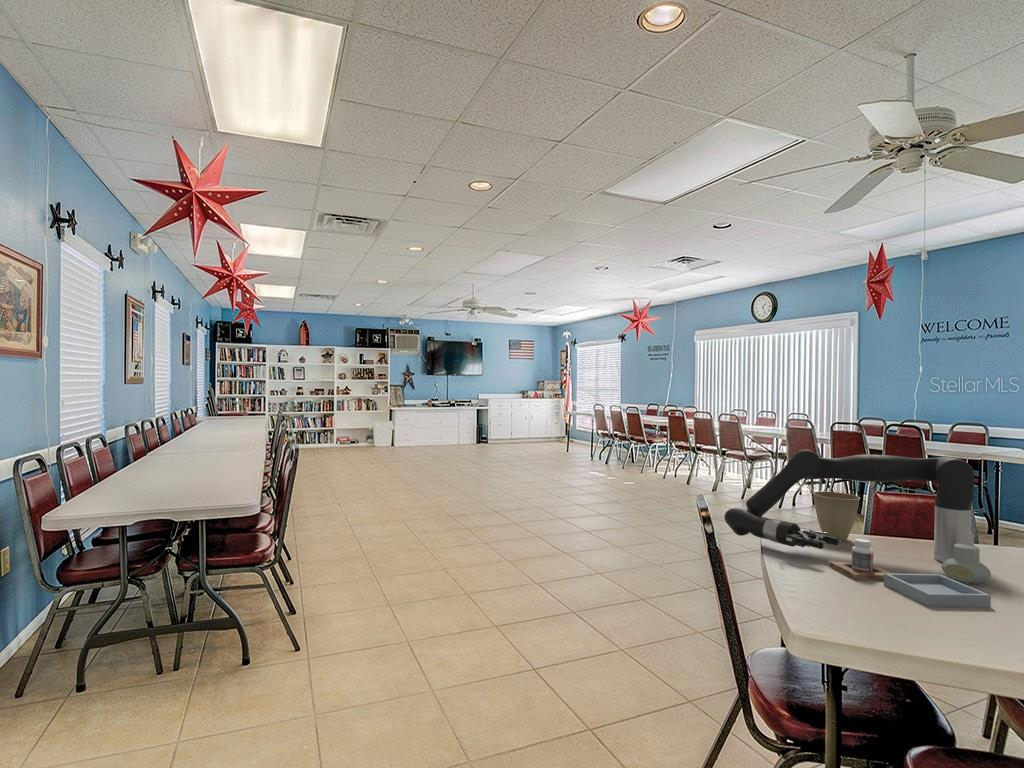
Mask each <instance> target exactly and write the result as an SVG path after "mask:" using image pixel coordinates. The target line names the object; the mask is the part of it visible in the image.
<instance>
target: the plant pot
mask: <svg viewBox="0 0 1024 768" xmlns="http://www.w3.org/2000/svg"><path fill="white" fill-rule="evenodd" d="M812 493H813V494H812V495H813V502H814V508H815V509H814V510H815V514H816V518H817V521H818V524H819V528H820V531H821V533H822V532H823V533H824V532H827V534H828V536H830V537H834V538H838V539H839V540H842V541H841V542H844V541H843V540H846V541H847V540H848V538H849V536H850V534H851V531H852V529H853V527H854V524H855V520H856V518H857V514H858V509H859V505H860V500H861V497H859V496H857V495H855V494H850V493H846V492H845V493H844V492H837V491H821V490H819V491H814V492H812Z"/></svg>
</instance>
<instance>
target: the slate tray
mask: <svg viewBox="0 0 1024 768" xmlns="http://www.w3.org/2000/svg"><path fill="white" fill-rule="evenodd" d="M884 584H885V585H884ZM883 585H884V586H887V587H888V588H890V589H892V590H894V589H895V591H896V590H897V592H898V591H899V593H900V592H901V593H900V594H902V593H903V595H904V594H905V596H906V595H907V597H908V596H909V598H911V599H913V600H914V601H917V602H918V603H921V604H922V605H925V606H927V607H930V608H931V607H935V608H936V607H937V608H938V607H940V608H941V607H942V608H944V607H945V608H946V607H948V608H949V607H950V608H992V604H991V603H992V595H991V594H988V593H986V592H984V591H981V590H979V589H976V588H974V587H972V586H969V585H967V584H966V583H961V582H958V581H956V580H954V579H952V578H950V577H949V576H945V575H943V574H937V573H936V574H935V573H892V572H890V573H884V581H883Z"/></svg>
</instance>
